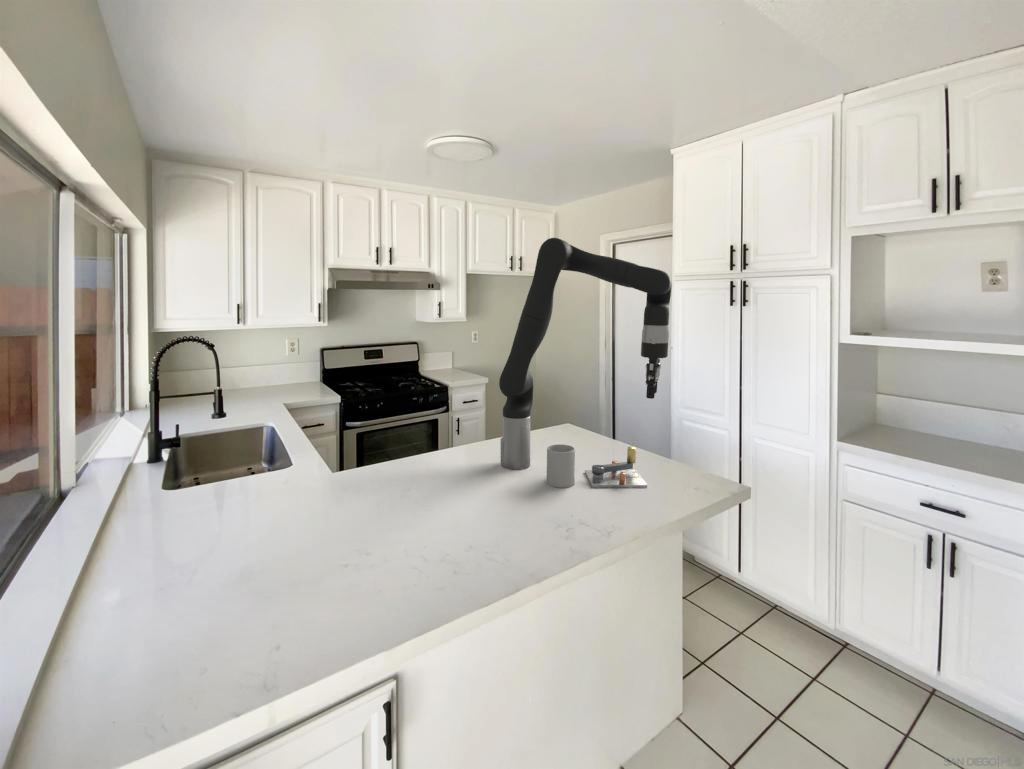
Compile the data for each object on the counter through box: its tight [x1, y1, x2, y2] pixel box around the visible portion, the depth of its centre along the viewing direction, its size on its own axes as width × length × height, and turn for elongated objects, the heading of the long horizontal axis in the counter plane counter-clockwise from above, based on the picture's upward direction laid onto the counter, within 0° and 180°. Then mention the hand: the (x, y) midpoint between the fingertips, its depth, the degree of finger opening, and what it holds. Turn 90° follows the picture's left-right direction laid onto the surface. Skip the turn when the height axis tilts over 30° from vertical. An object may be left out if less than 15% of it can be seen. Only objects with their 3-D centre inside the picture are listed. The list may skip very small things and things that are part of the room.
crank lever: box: [591, 446, 637, 475], centre depth 152 cm, size 15×4×7 cm, turn 111°
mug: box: [546, 443, 576, 489], centre depth 149 cm, size 12×8×11 cm
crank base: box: [584, 460, 648, 489], centre depth 151 cm, size 16×13×4 cm
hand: (651, 395), depth 144 cm, fingers open, 8 cm apart
